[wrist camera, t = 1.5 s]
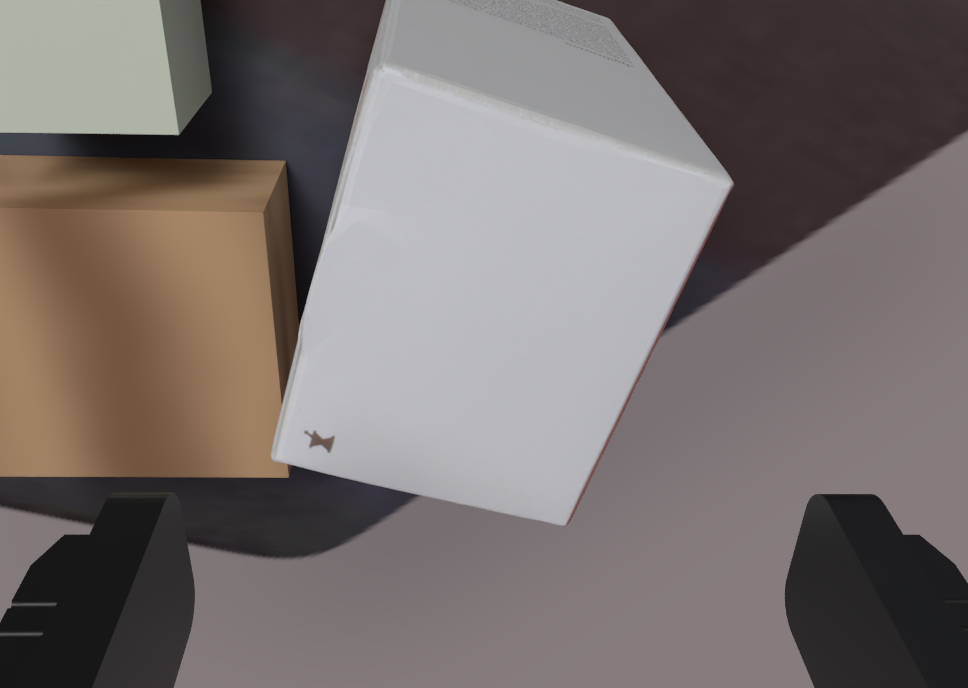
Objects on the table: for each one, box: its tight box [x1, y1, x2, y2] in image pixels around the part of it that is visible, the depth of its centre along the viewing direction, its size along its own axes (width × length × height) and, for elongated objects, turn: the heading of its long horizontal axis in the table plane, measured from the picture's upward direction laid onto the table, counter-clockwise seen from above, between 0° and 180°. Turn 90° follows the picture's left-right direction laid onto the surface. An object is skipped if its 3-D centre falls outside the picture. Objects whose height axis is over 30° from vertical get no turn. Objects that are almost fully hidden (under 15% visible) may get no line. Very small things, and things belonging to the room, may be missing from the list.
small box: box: [270, 0, 734, 526], centre depth 22 cm, size 8×6×13 cm
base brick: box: [0, 155, 299, 478], centre depth 28 cm, size 9×9×4 cm
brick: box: [0, 0, 212, 135], centre depth 24 cm, size 5×5×4 cm
